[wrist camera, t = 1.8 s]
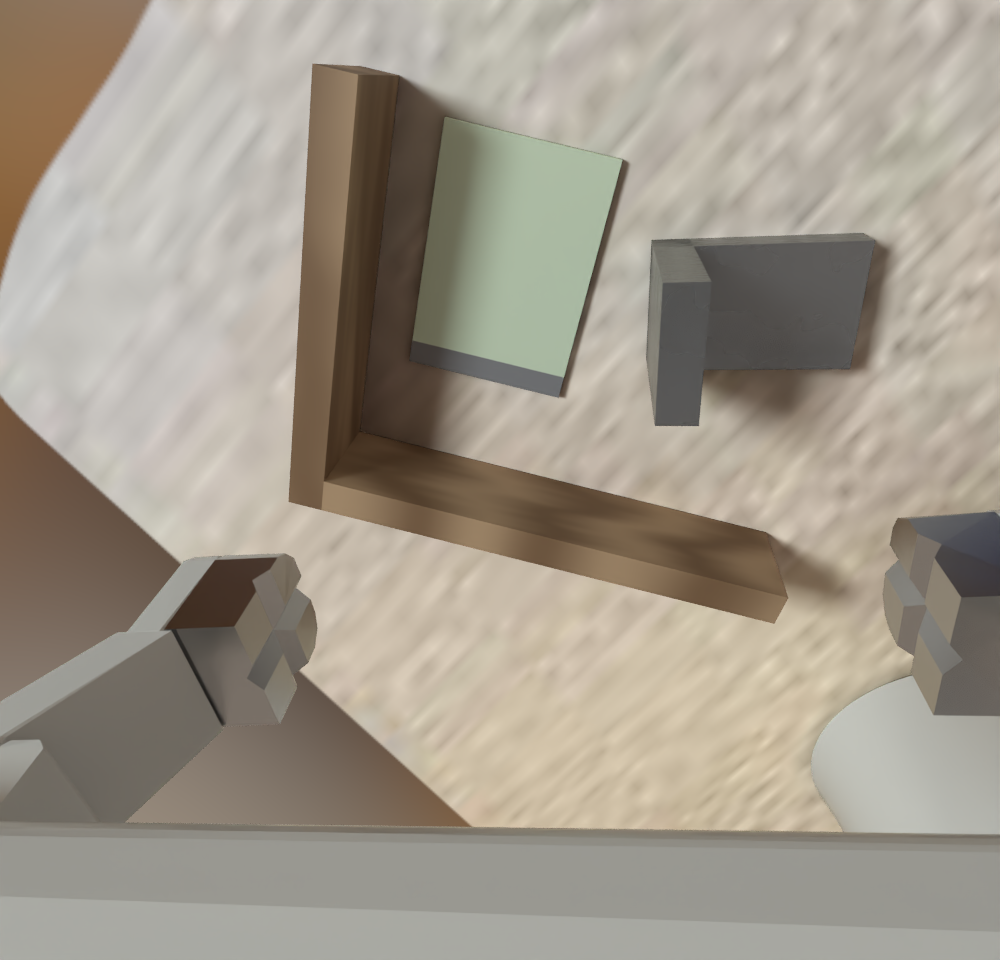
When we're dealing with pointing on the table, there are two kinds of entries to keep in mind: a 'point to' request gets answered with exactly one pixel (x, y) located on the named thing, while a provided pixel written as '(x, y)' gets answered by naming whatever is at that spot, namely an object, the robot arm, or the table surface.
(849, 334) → the bracket
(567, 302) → the mat
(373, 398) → the table surface
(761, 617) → the wooden corner frame
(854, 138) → the table surface
